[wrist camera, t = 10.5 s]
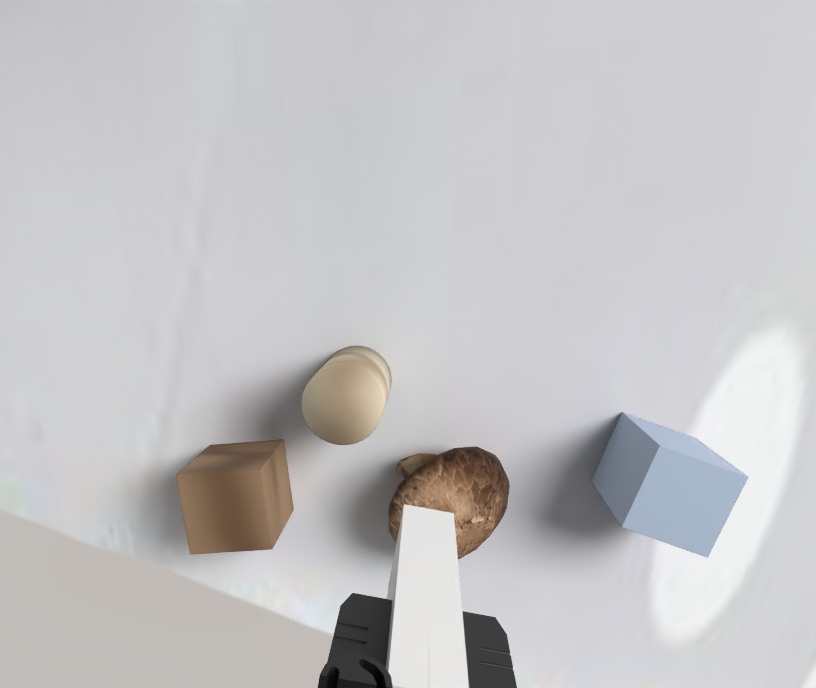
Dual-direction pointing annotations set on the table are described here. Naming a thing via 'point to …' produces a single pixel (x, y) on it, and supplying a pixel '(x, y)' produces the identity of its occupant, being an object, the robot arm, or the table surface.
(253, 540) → the walnut block
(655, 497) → the slate block
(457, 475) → the mushroom
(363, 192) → the table surface
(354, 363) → the birch cylinder
